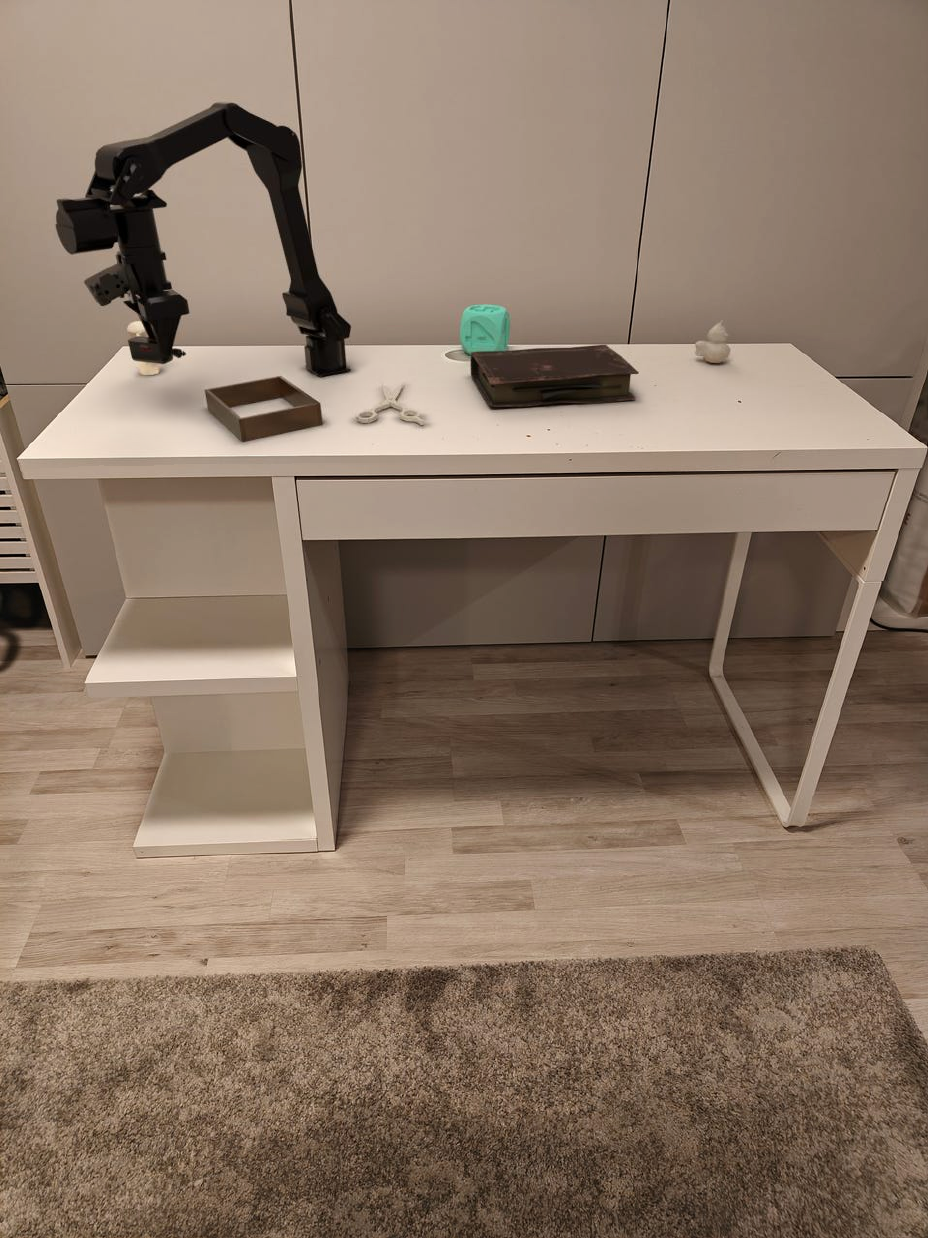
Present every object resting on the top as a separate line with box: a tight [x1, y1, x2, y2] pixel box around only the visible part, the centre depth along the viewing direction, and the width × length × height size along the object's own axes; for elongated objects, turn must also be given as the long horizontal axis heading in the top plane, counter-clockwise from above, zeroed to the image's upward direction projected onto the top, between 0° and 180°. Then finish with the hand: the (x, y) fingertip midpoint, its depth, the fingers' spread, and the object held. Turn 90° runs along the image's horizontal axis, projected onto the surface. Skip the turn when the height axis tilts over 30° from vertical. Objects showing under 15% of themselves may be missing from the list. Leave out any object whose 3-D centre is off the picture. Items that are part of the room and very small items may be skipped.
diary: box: [470, 344, 639, 408], centre depth 142 cm, size 19×25×5 cm
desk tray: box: [204, 375, 324, 443], centre depth 132 cm, size 13×16×4 cm
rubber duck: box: [694, 318, 731, 364], centre depth 154 cm, size 5×7×8 cm
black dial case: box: [127, 336, 187, 365], centre depth 129 cm, size 5×7×3 cm, turn 70°
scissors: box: [356, 382, 425, 426], centre depth 137 cm, size 11×1×20 cm
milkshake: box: [126, 320, 160, 376], centre depth 149 cm, size 4×5×10 cm
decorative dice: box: [459, 304, 511, 356], centre depth 160 cm, size 8×8×8 cm
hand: (161, 352), depth 129 cm, fingers closed on black dial case, 5 cm apart
